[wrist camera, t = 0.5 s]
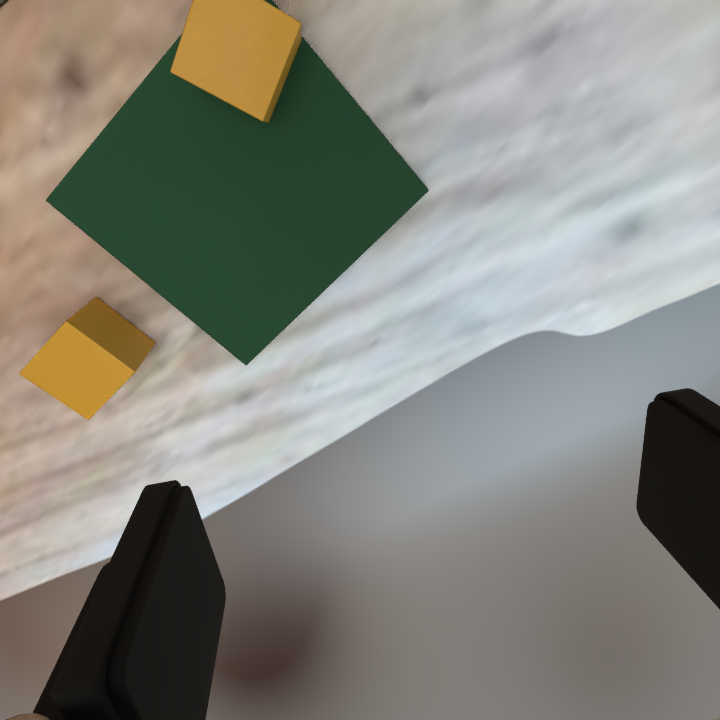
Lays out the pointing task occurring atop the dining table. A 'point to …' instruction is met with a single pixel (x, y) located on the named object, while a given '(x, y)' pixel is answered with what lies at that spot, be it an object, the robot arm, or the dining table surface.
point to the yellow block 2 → (238, 52)
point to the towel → (239, 197)
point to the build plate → (2, 2)
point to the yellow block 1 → (89, 358)
